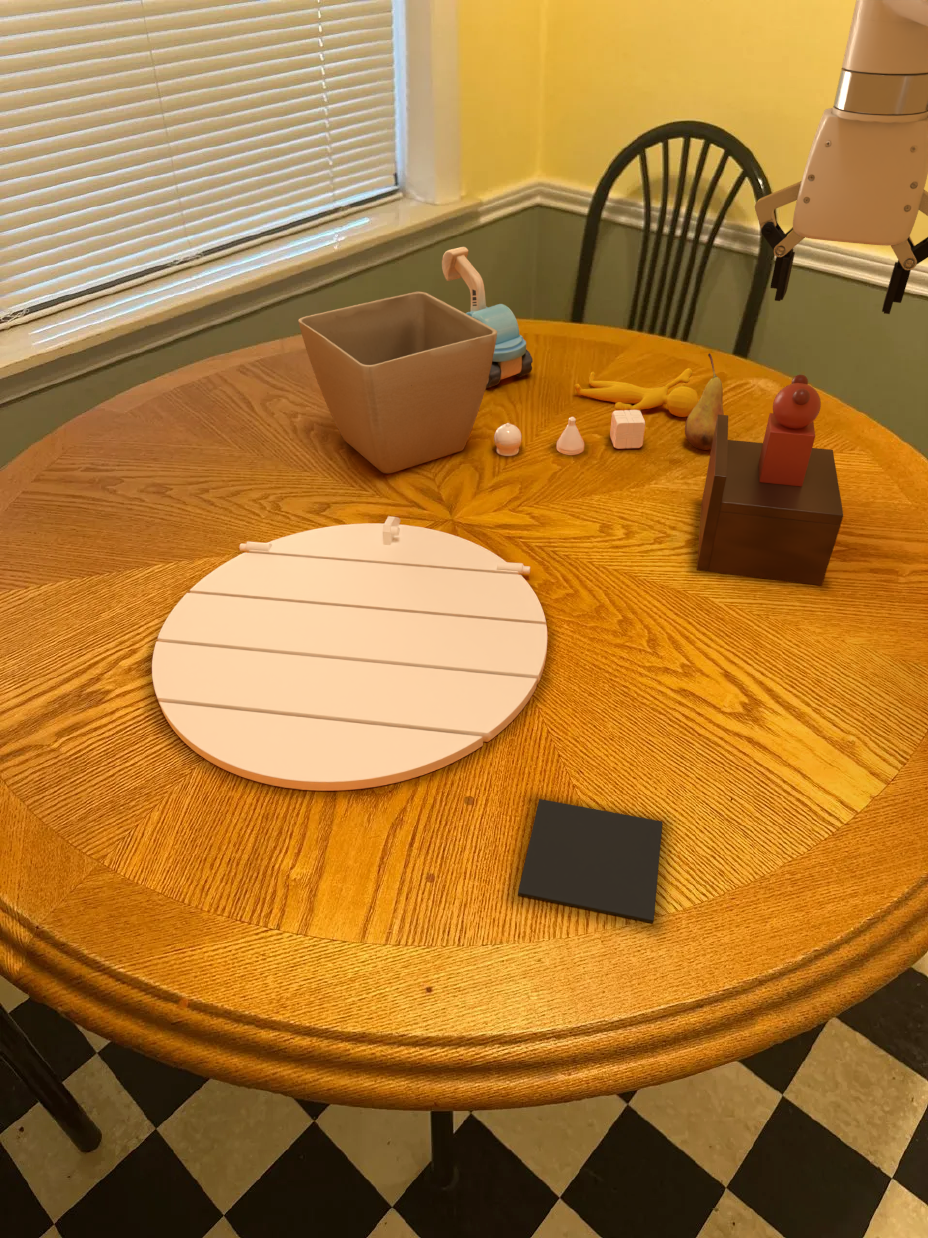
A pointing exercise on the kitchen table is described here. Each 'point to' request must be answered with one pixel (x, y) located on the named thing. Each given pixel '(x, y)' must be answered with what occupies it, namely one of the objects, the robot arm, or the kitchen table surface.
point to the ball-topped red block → (789, 434)
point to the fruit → (705, 414)
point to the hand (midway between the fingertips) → (832, 302)
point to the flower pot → (401, 376)
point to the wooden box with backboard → (767, 515)
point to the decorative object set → (623, 434)
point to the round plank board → (350, 656)
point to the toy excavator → (490, 320)
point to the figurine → (645, 395)
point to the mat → (593, 860)
